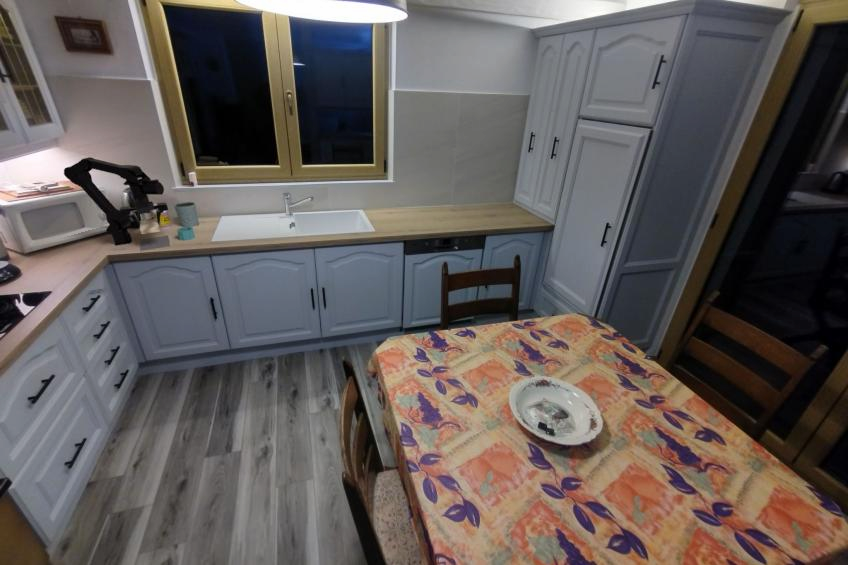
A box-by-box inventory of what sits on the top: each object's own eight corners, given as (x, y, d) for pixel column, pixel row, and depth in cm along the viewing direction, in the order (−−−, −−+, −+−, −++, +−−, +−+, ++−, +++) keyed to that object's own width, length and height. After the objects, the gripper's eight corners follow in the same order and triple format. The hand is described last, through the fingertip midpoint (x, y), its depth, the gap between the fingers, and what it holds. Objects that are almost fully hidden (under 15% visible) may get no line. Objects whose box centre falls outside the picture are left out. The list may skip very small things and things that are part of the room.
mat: (140, 251, 181) (140, 250, 181) (140, 240, 194) (140, 239, 194) (170, 247, 187) (169, 246, 187) (168, 236, 200) (168, 235, 200)
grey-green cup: (194, 228, 211) (188, 207, 205) (175, 228, 211) (169, 206, 205) (203, 222, 220) (198, 202, 214) (186, 222, 220) (180, 201, 214)
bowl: (180, 242, 193) (177, 232, 191) (179, 237, 198) (176, 228, 196) (195, 239, 197) (193, 230, 194) (194, 235, 202) (192, 226, 199)
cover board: (141, 234, 180) (140, 229, 179) (141, 225, 190) (140, 220, 189) (159, 231, 183) (158, 226, 182) (158, 223, 194) (157, 218, 193)
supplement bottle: (167, 229, 208) (160, 206, 202) (154, 229, 208) (147, 206, 202) (174, 225, 214) (168, 203, 208) (162, 225, 214) (155, 202, 208)
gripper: (113, 201, 169) (125, 234, 176) (163, 195, 178) (173, 227, 185) (115, 195, 177) (126, 227, 184) (162, 190, 186) (171, 221, 193)
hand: (149, 226), depth 186 cm, fingers closed on cover board, 7 cm apart
